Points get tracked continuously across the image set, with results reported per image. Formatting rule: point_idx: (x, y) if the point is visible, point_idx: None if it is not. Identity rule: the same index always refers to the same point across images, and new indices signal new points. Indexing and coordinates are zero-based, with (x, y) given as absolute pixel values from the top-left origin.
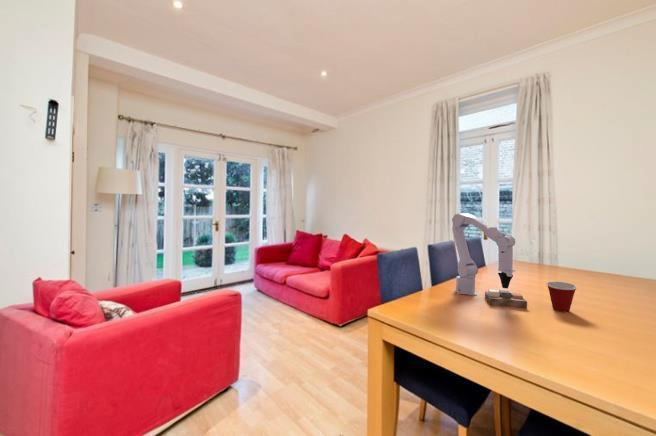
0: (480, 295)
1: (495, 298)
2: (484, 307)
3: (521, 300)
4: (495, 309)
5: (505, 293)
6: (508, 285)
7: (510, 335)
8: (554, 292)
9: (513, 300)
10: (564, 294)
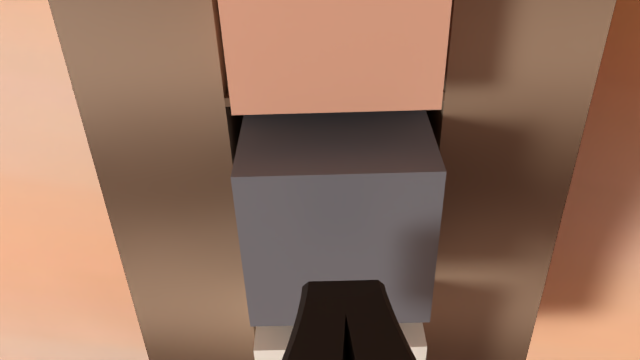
0: (52, 334)
1: (525, 337)
2: (572, 356)
3: None
4: (637, 274)
5: (433, 252)
6: (404, 343)
7: None
8: None
9: (586, 102)
10: None
